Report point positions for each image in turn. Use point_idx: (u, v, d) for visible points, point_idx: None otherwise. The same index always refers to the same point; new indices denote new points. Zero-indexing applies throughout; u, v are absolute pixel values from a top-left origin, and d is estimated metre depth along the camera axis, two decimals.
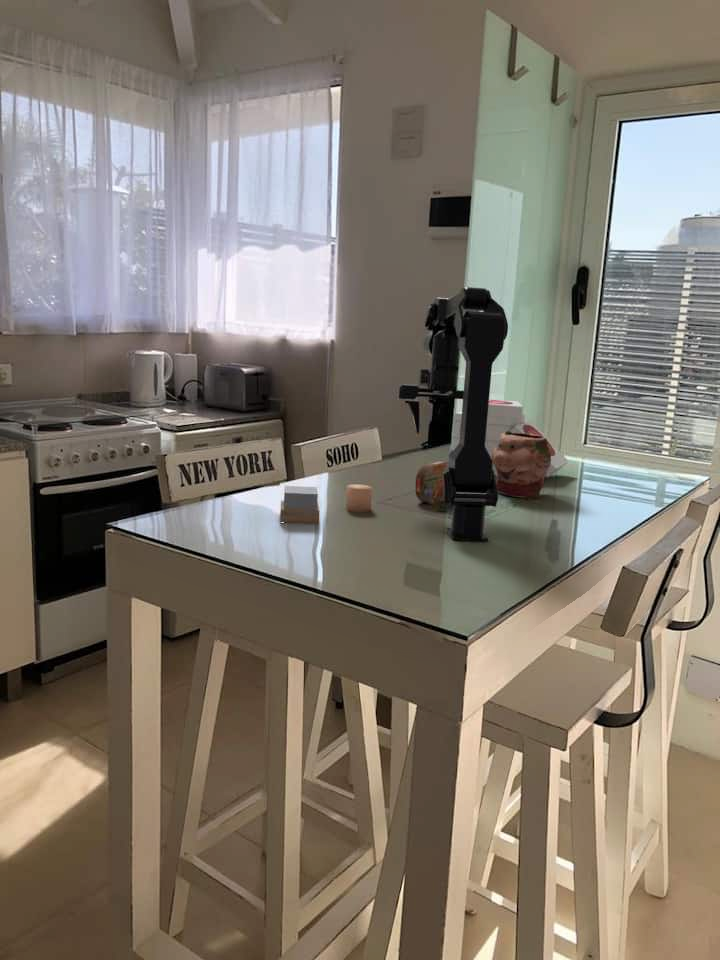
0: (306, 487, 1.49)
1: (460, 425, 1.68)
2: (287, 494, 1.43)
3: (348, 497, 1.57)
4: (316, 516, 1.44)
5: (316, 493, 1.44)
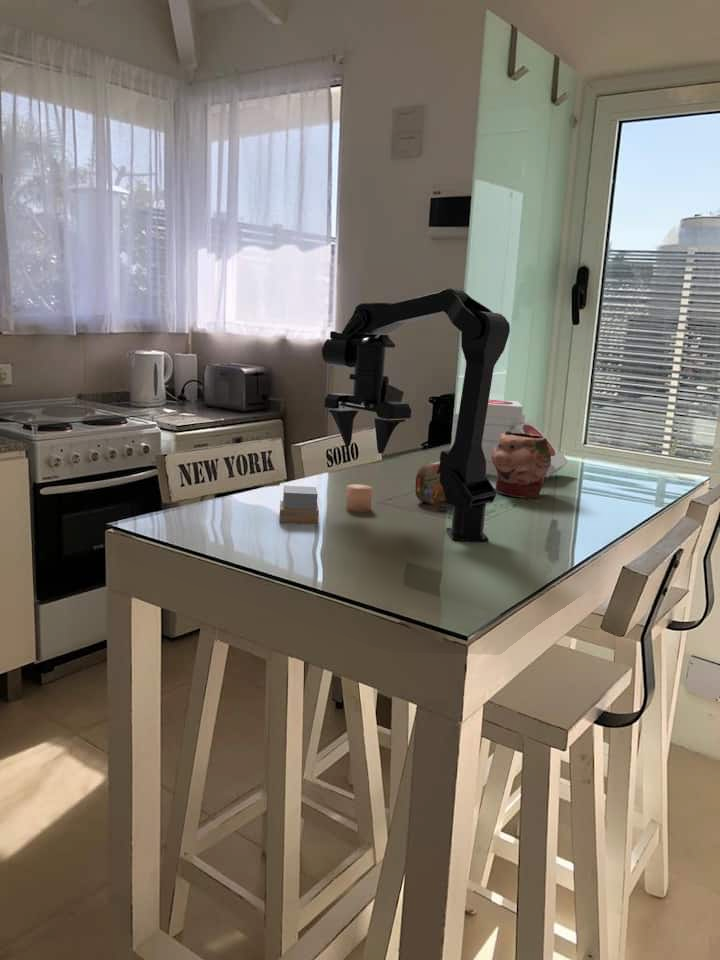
0: (305, 487, 1.49)
1: None
2: (287, 494, 1.43)
3: (348, 497, 1.57)
4: (315, 516, 1.44)
5: (316, 493, 1.45)
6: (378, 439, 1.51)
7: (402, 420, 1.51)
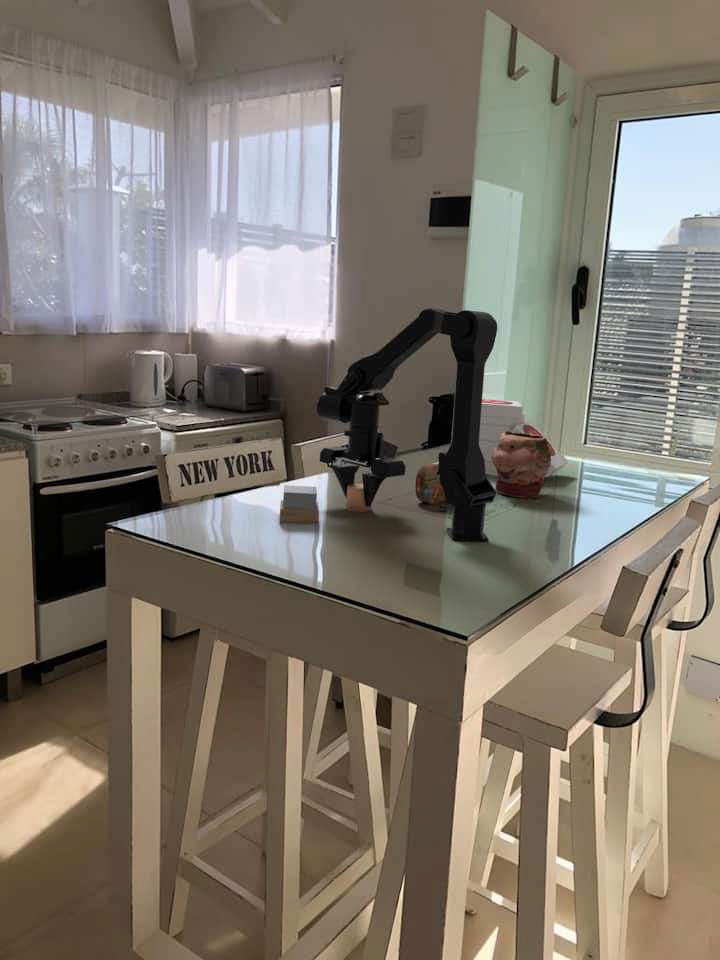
0: (306, 487, 1.49)
1: None
2: (286, 493, 1.43)
3: (348, 497, 1.57)
4: (316, 516, 1.44)
5: (315, 493, 1.44)
6: (366, 493, 1.55)
7: None
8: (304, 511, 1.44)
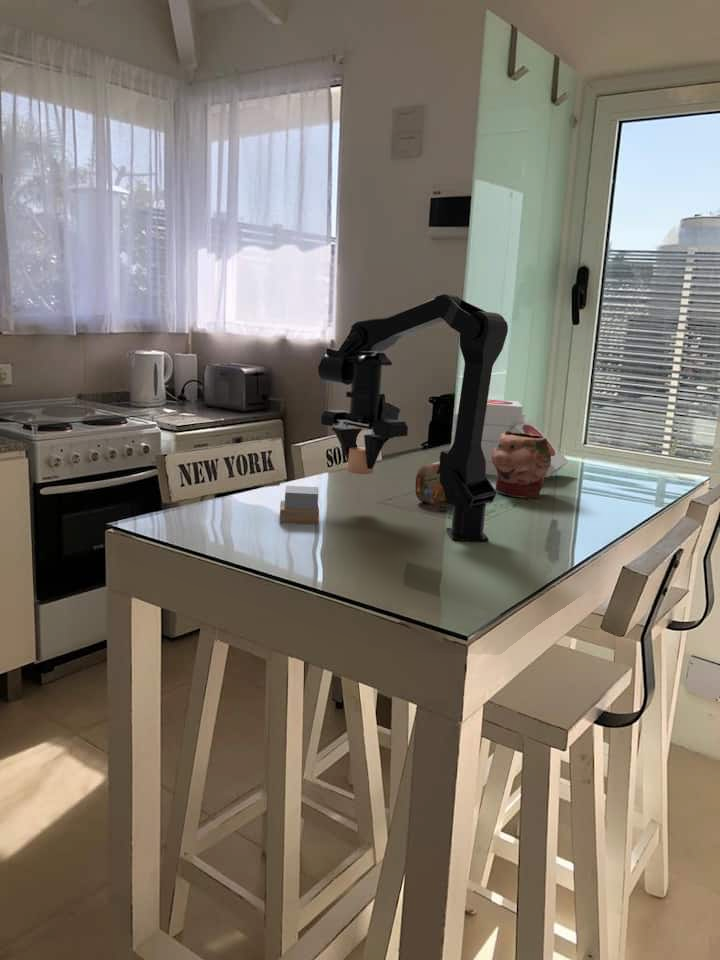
0: (307, 487, 1.49)
1: None
2: (288, 494, 1.44)
3: (350, 459, 1.55)
4: (316, 516, 1.44)
5: (317, 493, 1.44)
6: (368, 455, 1.53)
7: (391, 436, 1.53)
8: (304, 511, 1.44)
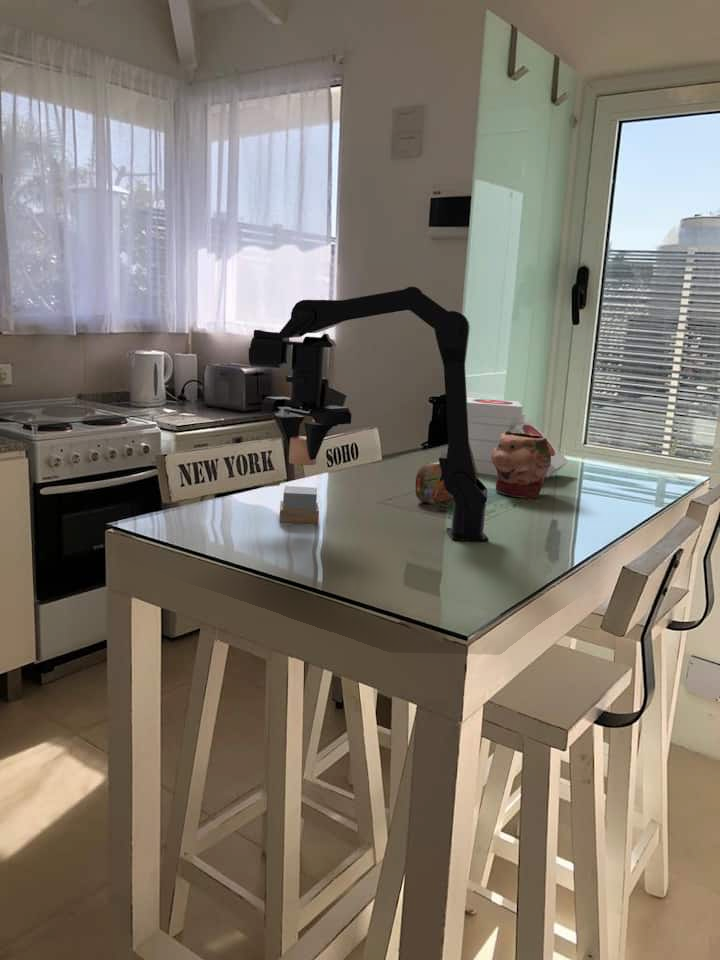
0: (306, 487, 1.49)
1: None
2: (286, 494, 1.43)
3: (291, 449, 1.44)
4: (316, 516, 1.44)
5: (315, 493, 1.44)
6: (309, 445, 1.41)
7: (334, 424, 1.41)
8: (304, 511, 1.44)
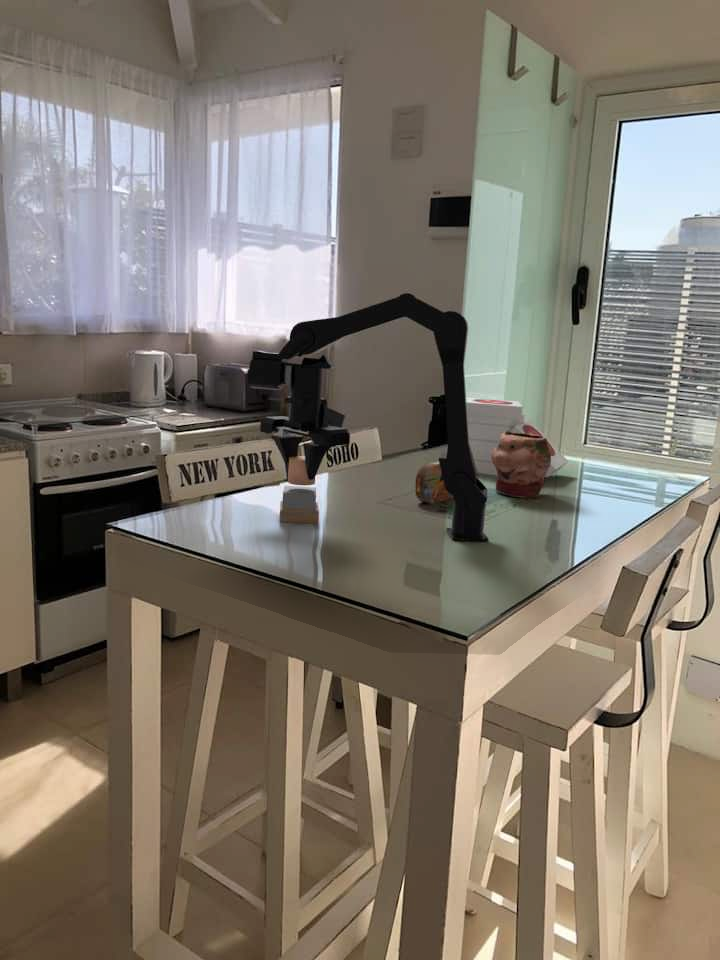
0: (306, 487, 1.48)
1: None
2: (285, 494, 1.43)
3: (290, 469, 1.44)
4: (316, 516, 1.44)
5: (315, 493, 1.44)
6: (308, 465, 1.42)
7: None
8: (304, 511, 1.44)
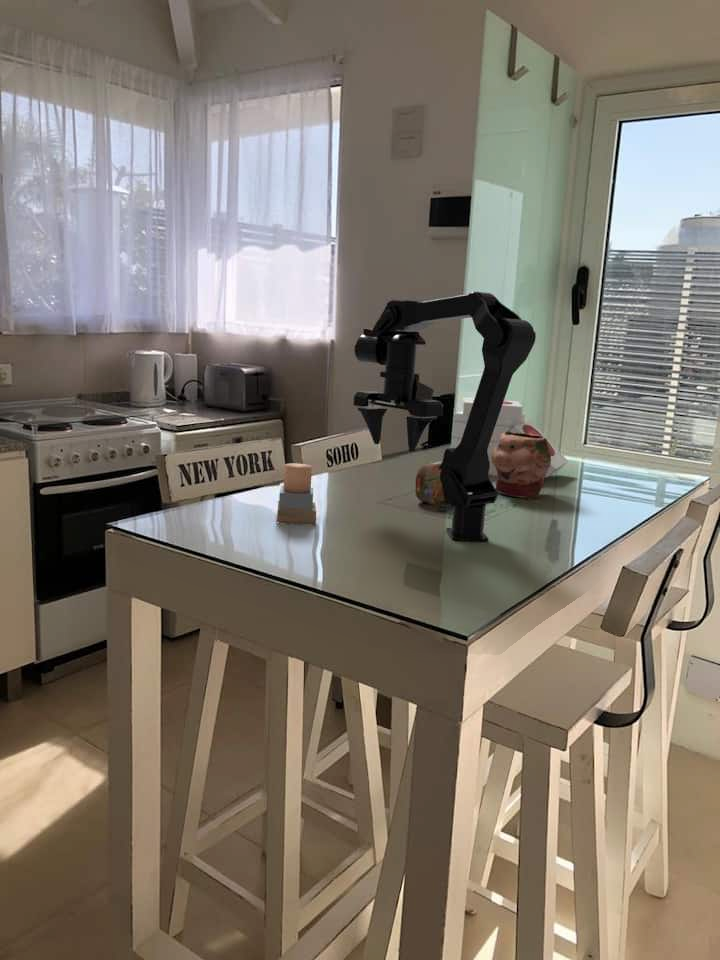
0: None
1: None
2: (282, 494, 1.43)
3: (285, 476, 1.44)
4: (313, 516, 1.44)
5: (311, 493, 1.44)
6: (410, 437, 1.50)
7: (434, 418, 1.49)
8: (301, 511, 1.43)
